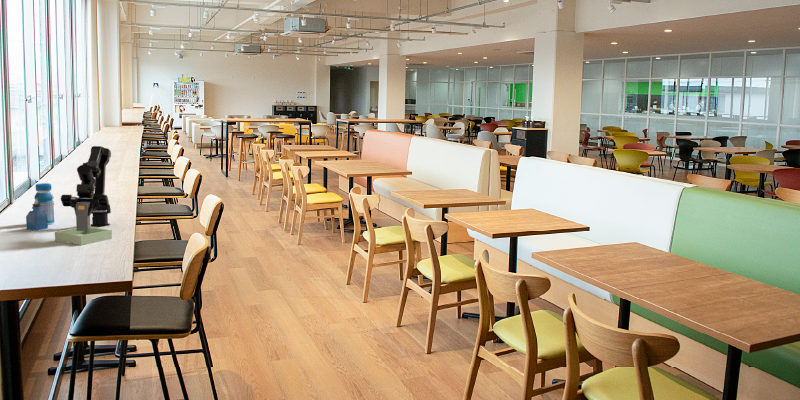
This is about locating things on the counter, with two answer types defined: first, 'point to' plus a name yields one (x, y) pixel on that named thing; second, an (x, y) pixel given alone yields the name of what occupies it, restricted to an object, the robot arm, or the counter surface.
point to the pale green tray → (83, 235)
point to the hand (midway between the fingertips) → (82, 215)
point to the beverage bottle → (45, 200)
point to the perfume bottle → (36, 218)
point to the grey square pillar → (82, 216)
